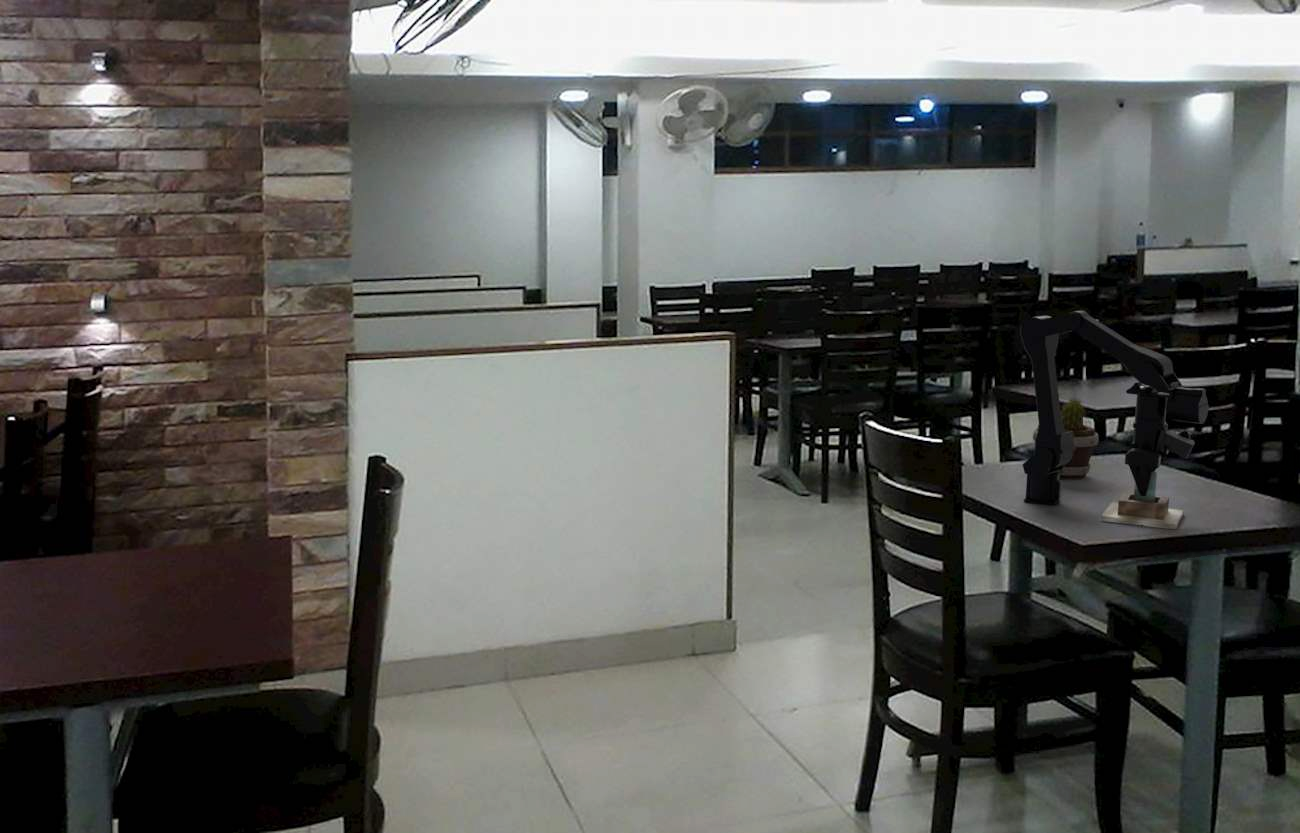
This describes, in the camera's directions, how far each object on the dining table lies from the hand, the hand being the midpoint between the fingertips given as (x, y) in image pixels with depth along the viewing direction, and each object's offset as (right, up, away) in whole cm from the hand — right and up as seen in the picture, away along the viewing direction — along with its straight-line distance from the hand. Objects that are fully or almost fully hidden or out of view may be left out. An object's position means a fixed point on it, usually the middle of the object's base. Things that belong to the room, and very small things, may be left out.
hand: (1144, 493), depth 260 cm
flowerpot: (-3, +1, +41) cm, 42 cm away
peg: (0, -3, 0) cm, 2 cm away
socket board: (0, -5, +1) cm, 5 cm away
